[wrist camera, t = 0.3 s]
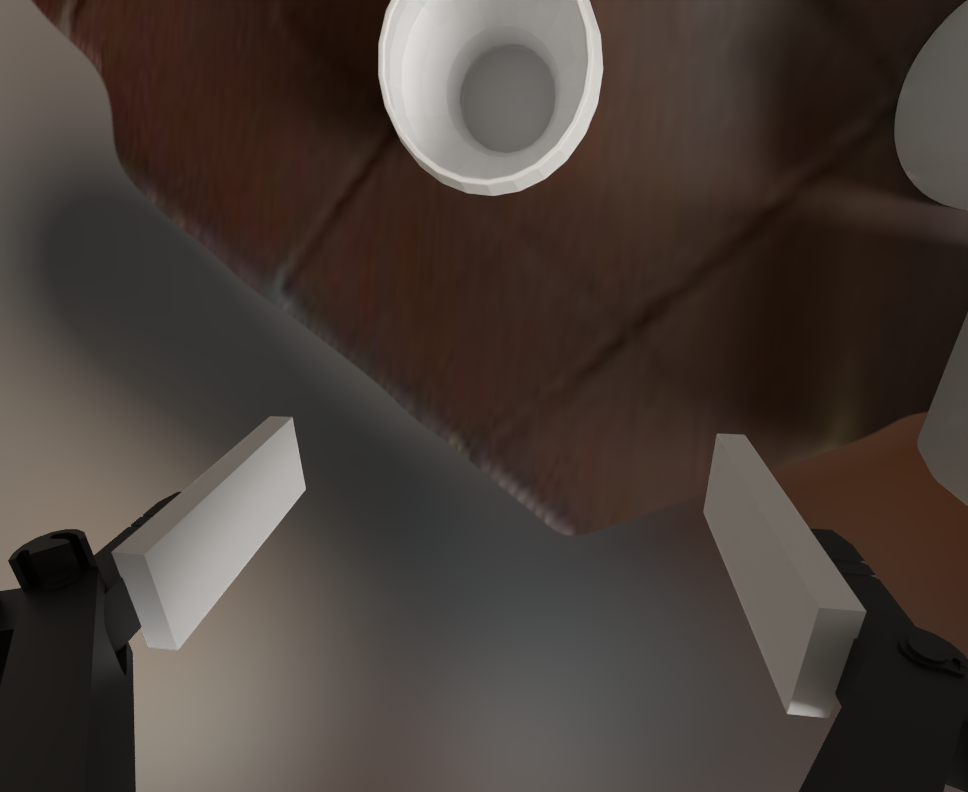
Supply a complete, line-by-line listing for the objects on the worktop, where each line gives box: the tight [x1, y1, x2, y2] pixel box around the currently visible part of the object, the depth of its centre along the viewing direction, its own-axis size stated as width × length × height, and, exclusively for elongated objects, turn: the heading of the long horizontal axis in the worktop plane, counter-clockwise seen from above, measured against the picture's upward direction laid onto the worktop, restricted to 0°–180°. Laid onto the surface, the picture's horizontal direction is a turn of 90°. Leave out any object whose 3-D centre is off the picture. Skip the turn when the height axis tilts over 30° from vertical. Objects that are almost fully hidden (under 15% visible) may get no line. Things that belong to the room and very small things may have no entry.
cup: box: [378, 0, 603, 196], centre depth 30 cm, size 11×11×15 cm
